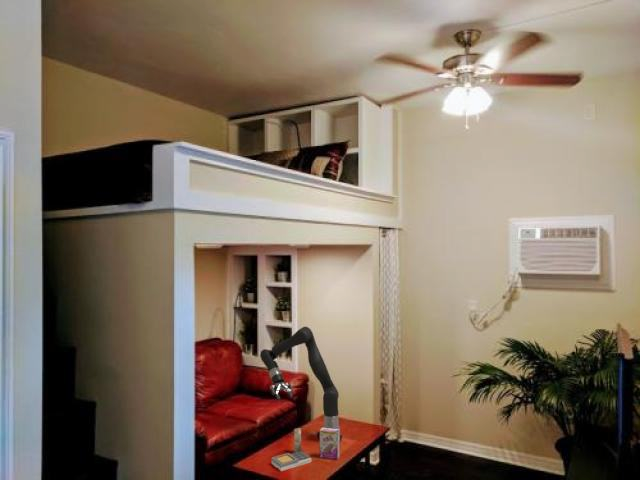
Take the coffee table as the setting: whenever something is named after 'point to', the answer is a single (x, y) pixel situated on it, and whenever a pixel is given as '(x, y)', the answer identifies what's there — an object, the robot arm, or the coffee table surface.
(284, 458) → the amber key
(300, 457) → the keyboard
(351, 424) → the coffee table surface
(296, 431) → the beige rounded cylinder
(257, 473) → the coffee table surface
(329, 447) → the candy bar box
